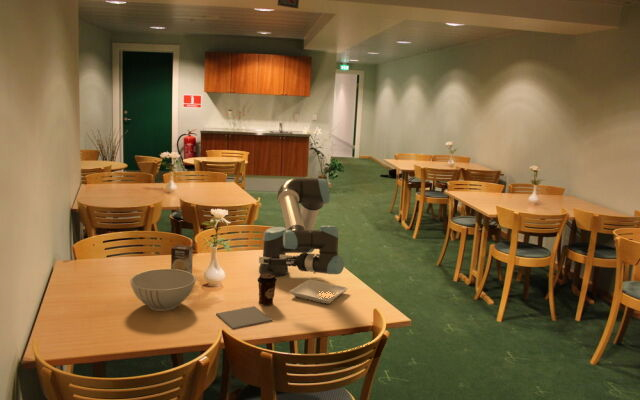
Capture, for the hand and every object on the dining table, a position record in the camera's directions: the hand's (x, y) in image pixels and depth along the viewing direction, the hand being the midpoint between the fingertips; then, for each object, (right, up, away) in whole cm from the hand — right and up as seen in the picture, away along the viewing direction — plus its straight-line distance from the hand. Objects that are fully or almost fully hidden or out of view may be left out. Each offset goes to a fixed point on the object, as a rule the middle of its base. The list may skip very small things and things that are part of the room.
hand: (270, 258), depth 245 cm
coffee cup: (-2, -21, +6) cm, 22 cm away
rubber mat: (-10, -23, -11) cm, 28 cm away
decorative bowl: (-46, -20, -3) cm, 50 cm away
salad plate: (+21, -20, +20) cm, 35 cm away
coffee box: (-46, -13, +31) cm, 57 cm away
